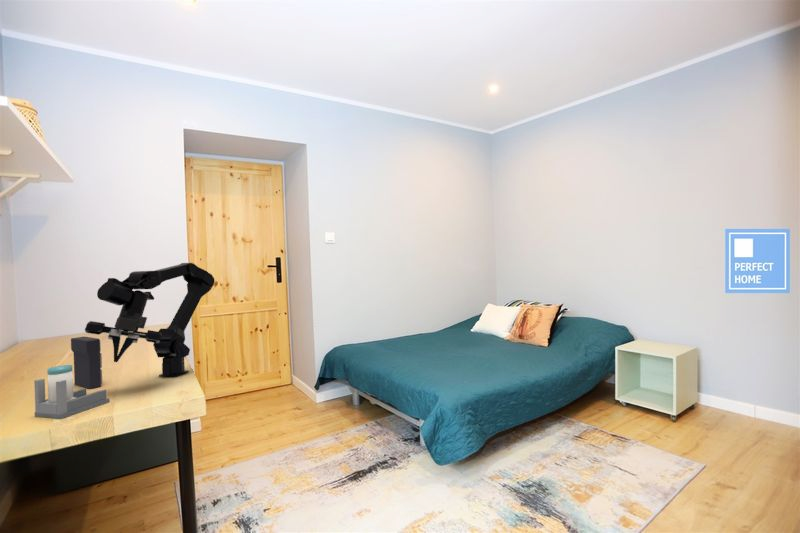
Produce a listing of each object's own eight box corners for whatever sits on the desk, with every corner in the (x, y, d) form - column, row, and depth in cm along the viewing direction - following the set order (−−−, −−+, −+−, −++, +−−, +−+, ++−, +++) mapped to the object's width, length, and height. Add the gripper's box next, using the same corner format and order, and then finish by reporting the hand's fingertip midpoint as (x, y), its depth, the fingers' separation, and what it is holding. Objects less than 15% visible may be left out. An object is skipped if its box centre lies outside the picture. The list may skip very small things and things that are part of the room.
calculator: (104, 386, 123) (102, 338, 123) (87, 390, 119) (86, 340, 119) (88, 381, 128) (86, 335, 128) (72, 385, 125) (70, 338, 125)
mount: (84, 400, 110) (83, 367, 110) (109, 401, 107) (108, 369, 107) (34, 416, 98) (33, 380, 98) (61, 418, 96) (60, 381, 96)
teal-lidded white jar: (64, 404, 103) (62, 364, 103) (78, 405, 102) (77, 365, 101) (43, 411, 98) (42, 369, 98) (58, 412, 97) (57, 370, 97)
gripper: (94, 297, 109) (72, 354, 103) (169, 311, 118) (153, 364, 112) (96, 305, 118) (76, 358, 112) (166, 317, 127) (151, 367, 121)
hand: (115, 362), depth 114 cm, fingers closed
